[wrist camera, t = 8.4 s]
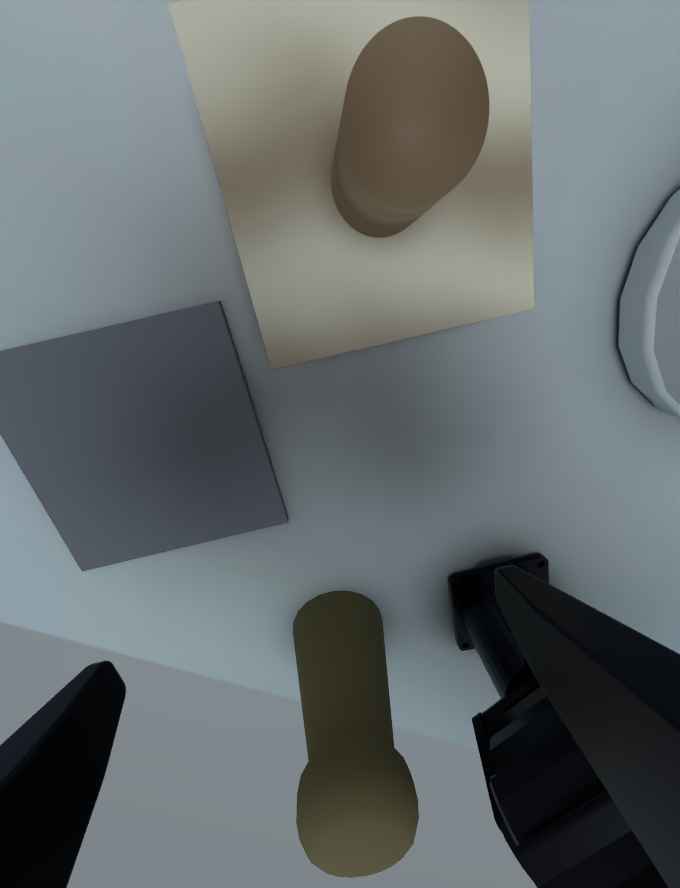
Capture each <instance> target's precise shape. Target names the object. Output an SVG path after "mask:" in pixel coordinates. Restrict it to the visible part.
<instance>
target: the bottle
mask: <svg viewBox="0 0 680 888" xmlns="http://www.w3.org/2000/svg"><path fill="white" fill-rule="evenodd" d="M618 346H619V349H620V351H621V354H622V357H623V360H624V363H625V366H626V368H627V371H628V374H629V377H630V380H631V382H632V383H633V384H634V385H635V386H636V387H637V388H638V389H639V390H640V391H641V392H642V393H643V394H644V395H645V396H646V397H647V398H648V399H649V400H650V401H651V402H652V403H653V404H654V405H655V406H656V407H657V408H659V409H661V410H664V411H666V412H668V413H670V414H672V415H675V416H677V417H679V418H680V189H679V190H678V191H677V192H676V193H675V194H674V195H672V196H671V198H670V199H669V201H668V202H667V204H666V205H665V207H664V208H663V210H662V211H661V213H660V214H659V216H658V217H657V219H656V220H655V222H654V223H653V225H652V226H651V228H650V229H649V231H648V232H647V234H646V235H645V237H644V239H643V240H642V242H641V243H640V245H639V246H638V248H637V251H636V254H635V257H634V260H633V263H632V266H631V269H630V272H629V275H628V277H627V280H626V283H625V286H624V289H623V292H622V295H621V298H620V317H619V343H618Z"/></svg>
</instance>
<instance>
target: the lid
mask: <svg viewBox="0 0 680 888" xmlns="http://www.w3.org/2000/svg"><path fill="white" fill-rule="evenodd" d="M168 4H169V8H170V12H171V15H172V19H173V22H174V26H175V29H176V33H177V36H178V40H179V44H180V47H181V51H182V54H183V58H184V61H185V65H186V68H187V72H188V75H189V79H190V83H191V86H192V90H193V93H194V97H195V100H196V104H197V107H198V111H199V114H200V118H201V122H202V125H203V129H204V132H205V136H206V139H207V143H208V146H209V150H210V153H211V157H212V161H213V164H214V168H215V171H216V175H217V178H218V182H219V185H220V189H221V193H222V196H223V200H224V203H225V207H226V210H227V214H228V217H229V221H230V224H231V228H232V232H233V235H234V239H235V242H236V246H237V249H238V253H239V256H240V260H241V263H242V267H243V271H244V274H245V278H246V281H247V285H248V288H249V292H250V295H251V299H252V303H253V306H254V310H255V313H256V317H257V320H258V324H259V327H260V331H261V334H262V338H263V342H264V345H265V349H266V352H267V356H268V359H269V363H270V366H271V370H273V369H278V368H282V367H286V366H291V365H295V364H299V363H304V362H308V361H312V360H317V359H321V358H325V357H329V356H334V355H338V354H342V353H347V352H351V351H355V350H360V349H364V348H368V347H373V346H377V345H381V344H386V343H390V342H394V341H398V340H403V339H407V338H411V337H416V336H420V335H424V334H429V333H433V332H437V331H442V330H446V329H450V328H455V327H459V326H463V325H467V324H472V323H476V322H480V321H485V320H489V319H493V318H498V317H502V316H506V315H511V314H515V313H519V312H524V311H528V310H532V309H534V266H533V204H532V143H531V82H530V21H529V0H182V1H177V2H173V3H168Z"/></svg>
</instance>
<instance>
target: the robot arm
mask: <svg viewBox="0 0 680 888" xmlns="http://www.w3.org/2000/svg"><path fill="white" fill-rule="evenodd" d="M538 562H539V563H538ZM457 581H459V582H457ZM456 582H457V583H456ZM448 584H449V591H450V599H451V606H452V614H453V621H454V628H455V636H456V642H457V645H458V647H459V649H460V650H463V651H465V650H470V649H474V648H475V649H476V650H477V652H478V654H479V656H480V658H481V660H482V662H483V664H484V666H485V668H486V670H487V672H488V674H489V676H490V678H491V680H492V682H493V684H494V686H495V688H496V690H497V692H498V694H499V696H500V698H501V699H500V700H499V701H498V702H496V703H495V704H494V705H492V706H491V707H490V708H488V709H487V710H486V711H484V712H483V713H478V714H477V715H476V716H474V717H473V718H472V722H473V726H474V731H475V735H476V740H477V744H478V749H479V753H480V757H481V762H482V766H483V771H484V775H485V780H486V784H487V789H488V793H489V797H490V801H491V805H492V810H493V814H494V818H495V821H496V823H497V825H498V827H499V829H500V830H501V831H502V833H503V835H504V838H505V840H506V841H507V843H508V844H509V846H510V848H511V850H512V852H513V853H514V855H515V857H516V858H517V860H518V861H519V863H520V864H521V866H522V868H523V869H524V870H525V871H526V872H527V874H528V875H529V877H530V878H531V879H532V880H533V882H534V883H535V885H536V886H537V888H680V654H678V653H677V652H675V651H673V650H671V649H669V648H667V647H665V646H663V645H662V644H660V643H658V642H656V641H654V640H652V639H650V638H649V637H647V636H645V635H643V634H641V633H639V632H637V631H635V630H634V629H632V628H630V627H628V626H626V625H624V624H622V623H621V622H619V621H617V620H615V619H613V618H611V617H609V616H608V615H606V614H604V613H602V612H600V611H598V610H596V609H594V608H593V607H591V606H589V605H587V604H585V603H583V602H581V601H580V600H578V599H576V598H574V597H572V596H570V595H568V594H567V593H565V592H563V591H561V590H559V589H557V588H555V587H553V586H552V585H550V584H549V572H548V560H547V559H546V558H545V557H544V556H543V555H542V554H535V555H531V556H527V557H523V558H519V559H515V560H511V561H507V562H502V563H498V564H494V565H490V566H486V567H482V568H478V569H474V570H469V571H465V572H461V573H457V574H454V575H452V576H451V577H450V578H449V579H448ZM125 694H126V687H125V683H124V681H123V680H122V678H121V677H120V675H119V673H118V672H117V670H116V668H115V667H114V665H113V664H112V663H111V662H110V661H102V662H98V663H94V664H91V665H89V666H87V667H86V668H85V669H84V670H82V671H81V672H80V673H79V674H78V675H77V676H76V677H75V678H74V679H73V680H72V681H71V682H69V683H68V684H67V685H66V686H65V687H64V688H63V689H62V690H61V691H59V692H58V693H57V694H56V695H55V696H54V697H53V698H52V699H51V700H50V701H48V702H47V703H46V704H45V705H44V706H43V707H42V708H41V709H40V710H39V711H37V712H36V713H35V714H34V715H33V716H32V717H31V718H30V719H29V720H28V721H26V722H25V723H24V724H23V725H22V726H21V727H20V728H19V729H18V730H17V731H16V732H15V733H13V734H12V735H11V736H10V737H9V738H8V739H7V740H6V741H5V742H3V744H1V745H0V888H67V885H68V882H69V879H70V876H71V873H72V870H73V867H74V864H75V861H76V858H77V855H78V853H79V850H80V847H81V844H82V841H83V838H84V835H85V832H86V829H87V826H88V824H89V821H90V818H91V815H92V812H93V809H94V806H95V803H96V800H97V797H98V794H99V791H100V788H101V785H102V782H103V779H104V776H105V772H106V769H107V765H108V761H109V757H110V754H111V750H112V746H113V742H114V738H115V734H116V730H117V726H118V723H119V719H120V714H121V711H122V707H123V703H124V699H125Z"/></svg>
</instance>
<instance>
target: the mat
mask: <svg viewBox="0 0 680 888" xmlns="http://www.w3.org/2000/svg"><path fill="white" fill-rule="evenodd" d="M0 434H1V436H2V438H3V439H4V441H5V443H6V444H7V446H8V448H9V450H10V451H11V453H12V455H13V456H14V458H15V460H16V461H17V463H18V465H19V466H20V468H21V470H22V471H23V473H24V475H25V476H26V478H27V480H28V481H29V483H30V485H31V486H32V488H33V490H34V492H35V493H36V495H37V497H38V498H39V500H40V502H41V503H42V505H43V507H44V508H45V510H46V512H47V513H48V515H49V517H50V518H51V520H52V522H53V523H54V525H55V527H56V528H57V530H58V532H59V534H60V535H61V537H62V539H63V540H64V542H65V544H66V545H67V547H68V549H69V550H70V552H71V554H72V555H73V557H74V559H75V560H76V562H77V564H78V565H79V567H80V569H81V570H82V571H86V570H90V569H94V568H98V567H102V566H107V565H111V564H115V563H119V562H123V561H128V560H132V559H136V558H140V557H144V556H148V555H153V554H157V553H161V552H165V551H169V550H174V549H178V548H182V547H186V546H190V545H194V544H199V543H203V542H207V541H211V540H215V539H220V538H224V537H228V536H232V535H236V534H240V533H245V532H249V531H253V530H257V529H261V528H266V527H270V526H274V525H278V524H282V523H286V522H288V516H287V512H286V509H285V506H284V503H283V500H282V496H281V493H280V490H279V487H278V484H277V480H276V477H275V474H274V471H273V468H272V465H271V461H270V458H269V455H268V452H267V449H266V445H265V442H264V439H263V436H262V433H261V429H260V426H259V423H258V420H257V417H256V414H255V410H254V407H253V404H252V401H251V398H250V394H249V391H248V388H247V385H246V382H245V378H244V375H243V372H242V369H241V366H240V362H239V359H238V356H237V353H236V350H235V347H234V343H233V340H232V337H231V334H230V331H229V327H228V324H227V321H226V318H225V315H224V311H223V308H222V305H221V302H220V301H217V302H213V303H209V304H204V305H200V306H196V307H191V308H187V309H183V310H178V311H174V312H170V313H165V314H161V315H157V316H152V317H148V318H144V319H139V320H135V321H131V322H126V323H122V324H118V325H113V326H109V327H105V328H100V329H96V330H92V331H87V332H83V333H79V334H74V335H70V336H66V337H61V338H57V339H53V340H48V341H44V342H40V343H35V344H31V345H27V346H22V347H18V348H14V349H9V350H5V351H1V352H0Z"/></svg>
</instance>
